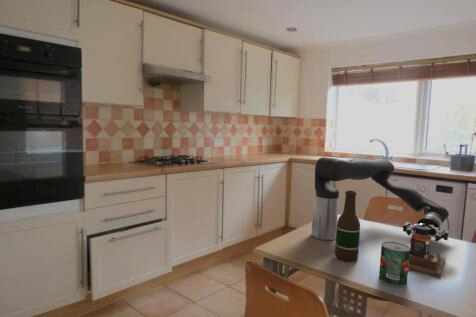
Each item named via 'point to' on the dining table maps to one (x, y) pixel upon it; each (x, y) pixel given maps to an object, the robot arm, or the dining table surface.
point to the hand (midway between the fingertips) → (422, 235)
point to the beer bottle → (348, 231)
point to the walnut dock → (427, 264)
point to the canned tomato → (394, 264)
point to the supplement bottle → (420, 242)
